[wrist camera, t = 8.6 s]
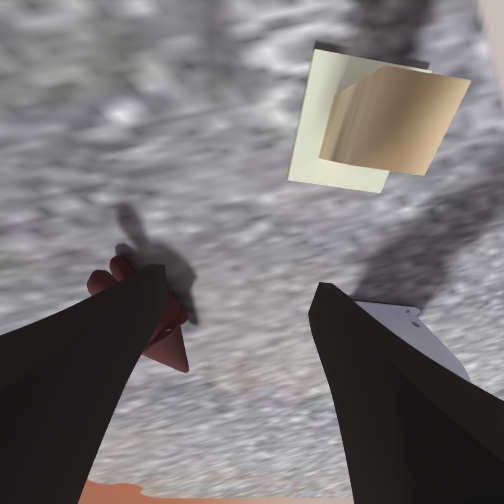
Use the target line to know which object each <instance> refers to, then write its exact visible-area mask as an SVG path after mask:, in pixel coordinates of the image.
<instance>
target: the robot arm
mask: <svg viewBox="0 0 504 504" xmlns="http://www.w3.org/2000/svg"><path fill="white" fill-rule="evenodd" d="M167 301H168V299H167V287H166V275H165V265H156V264H150V265H148V266H146V267H144V268H142V269H140V270H139V271H137V272H135V273H133V274H132V275H130V276H128V277H126V278H124V279H123V280H121V281H119V282H117V283H115V284H114V285H112V286H110V287H108V288H106V289H105V290H103V291H101V292H99V293H97V294H95V295H93V296H91V297H89V298H87V299H85V300H83V301H81V302H79V303H77V304H75V305H73V306H71V307H69V308H66V309H64V310H62V311H60V312H58V313H55V314H53V315H51V316H48V317H46V318H44V319H41V320H39V321H37V322H34V323H32V324H29V325H27V326H24V327H21V328H19V329H16V330H14V331H11V332H8V333H6V334H3V335H0V504H78V501H79V499H80V496H81V493H82V490H83V488H84V485H85V482H86V480H87V477H88V475H89V472H90V470H91V467H92V465H93V462H94V459H95V457H96V454H97V452H98V449H99V447H100V444H101V442H102V439H103V437H104V434H105V432H106V430H107V427H108V425H109V422H110V420H111V417H112V415H113V413H114V410H115V408H116V406H117V403H118V401H119V399H120V396H121V394H122V392H123V390H124V387H125V385H126V383H127V381H128V379H129V377H130V375H131V373H132V371H133V369H134V367H135V365H136V363H137V361H138V359H139V358H140V356H141V354H142V352H143V350H144V349H145V347H146V345H147V343H148V341H149V339H150V338H151V336H152V334H153V332H154V330H155V328H156V327H157V325H158V323H159V321H160V319H161V316H162V314H163V311H164V309H165V306H166V303H167ZM419 312H420V310H419V309H418V308H417V307H409V306H399V305H389V304H379V303H369V302H360V301H353V300H352V299H351V298H350V297H348V296H347V295H346V294H345V293H344V292H342V291H341V290H340V289H339V288H338V287H336V286H335V285H333V284H332V283H324V282H319V285H318V287H317V290H316V293H315V296H314V299H313V301H312V304H311V307H310V310H309V313H308V316H309V322H310V327H311V332H312V336H313V339H314V342H315V345H316V348H317V351H318V354H319V357H320V360H321V363H322V366H323V369H324V372H325V375H326V377H327V380H328V383H329V387H330V390H331V394H332V397H333V402H334V406H335V410H336V414H337V418H338V423H339V427H340V432H341V437H342V441H343V446H344V451H345V456H346V461H347V466H348V471H349V477H350V482H351V487H352V493H353V499H354V504H504V401H503V400H501V399H499V398H497V397H495V396H493V395H491V394H490V393H488V392H486V391H484V390H483V389H481V388H479V387H477V386H476V385H474V384H472V383H471V381H470V378H469V376H468V374H467V372H466V370H465V368H464V367H463V365H462V364H461V362H460V361H459V360H458V359H457V358H456V357H455V356H454V355H453V354H452V353H451V351H450V350H449V349H448V348H447V347H446V346H445V345H444V344H443V343H442V342H441V341H440V340H439V339H438V338H437V337H436V336H435V335H434V334H433V333H432V332H431V331H430V330H429V329H428V328H427V327H426V326H425V325H424V324H423V323H422V321H421V320H420V319H419V318H418V317H417V315H418V314H419Z"/></svg>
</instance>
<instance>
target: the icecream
mask: <svg viewBox="0 0 504 504" xmlns="http://www.w3.org/2000/svg"><path fill="white" fill-rule="evenodd" d="M109 267H110V270H111V273H112V275H111V274H110V273H109V272H107V271H106V270H95V271H93V273H92V274H91V276H90V278H89V280H88V282H87V288H88V291H89V293H90V294H91V295H92V296H93V295H95V294H97V293H99V292H101V291H103V290H105V289H106V288H108V287H110V286H112V285H114V284H115V283H117V282H119V281H121V280H123V279H124V278H126V277H128V276H130V275H132V274H133V273H135V271H134V269H133V267H132V266H131V265H130V264H129V263H128V261H127V260H126V259H125V258H123V257H122V256H119V255H118V256H115V257H113V258H112V259H111V260H110V266H109ZM167 299H168V301H167V303H166V306H165V309H164V311H163V314H162V316H161V319H160V321H159V323H158V325H157V327H156V328H155V330H154V332H153V334H152V336H151V338H150V339H149V341H148V343H147V345H146V347H145V349H144V350H143V352H142V354H141V355H144V356H146V357H148V358H151V359H153V360H155V361H158V362H160V363H162V364H165V365H167V366H169V367H172V368H174V369H176V370H179V371H181V372H184V373H187V372H188V371H189V365H188V361H187V356H186V351H185V346H184V341H183V336H182V331H181V326H180V325H182V324H184V323H185V322H186V321H187V319H188V315H187V313H186V311H187V308H186V307H185V306H183V305H182V304H179V302H178V301H177V300H176V299H175V298H174V297H173V295H172V292H170V291H167Z"/></svg>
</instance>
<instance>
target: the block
mask: <svg viewBox="0 0 504 504" xmlns="http://www.w3.org/2000/svg"><path fill="white" fill-rule="evenodd" d="M470 83H471V81H470V80H465V79H459V78H454V77H448V76H442V75H437V74H431V73H426V72H420V71H414V70H409V69H403V68H397V67H392V66H386V65H385V66H384V67H382V68H380V69H379V70H377V71H375V72H373V73H372V74H370V75H368V76H367V77H365V78H363V79H362V80H360V81H358V82H356V83H355V84H353V85H351V86H350V87H348V88H346V89H344V90H343V91H341V92H339V93H338V94H336V95H334V99H333V103H332V107H331V111H330V114H329V118H328V122H327V126H326V130H325V134H324V138H323V142H322V146H321V150H320V154H319V157H318V159H323V160H328V161H333V162H338V163H342V164H347V165H352V166H359V167H366V168H373V169H380V170H387V171H394V172H401V173H408V174H415V175H422V176H424V175H425V173H426V171H427V169H428V167H429V165H430V163H431V161H432V159H433V157H434V155H435V153H436V151H437V149H438V147H439V145H440V143H441V141H442V139H443V137H444V135H445V133H446V131H447V129H448V127H449V125H450V123H451V121H452V119H453V117H454V115H455V113H456V111H457V109H458V107H459V105H460V103H461V101H462V99H463V97H464V95H465V93H466V91H467V89H468V87H469V85H470Z"/></svg>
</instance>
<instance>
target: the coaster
mask: <svg viewBox="0 0 504 504" xmlns="http://www.w3.org/2000/svg"><path fill="white" fill-rule="evenodd" d="M385 65H386V66H392V67H397V68H403V69H409V70H414V71H420V72H426V73H431V72H432V71H429V70H424V69H418V68H413V67H408V66H402V65H397V64H392V63H386V62H381V61H376V60H370V59H365V58H360V57H355V56H349V55H344V54H339V53H333V52H328V51H323V50H317V49H315V50H314V51H313V53H312V57H311V62H310V67H309V72H308V77H307V82H306V87H305V92H304V97H303V101H302V106H301V111H300V116H299V121H298V126H297V131H296V136H295V141H294V146H293V151H292V155H291V160H290V165H289V170H288V175H287V180H292V181H299V182H306V183H313V184H320V185H327V186H334V187H341V188H348V189H355V190H363V191H370V192H377V193H381V190H382V188H383V185H384V183H385V181H386V178H387V176H388V174H389V171H387V170H380V169H373V168H366V167H359V166H352V165H347V164H342V163H338V162H333V161H328V160H323V159H318V157H319V154H320V150H321V146H322V142H323V138H324V134H325V130H326V126H327V122H328V118H329V114H330V111H331V107H332V103H333V99H334V95H336V94H338V93H339V92H341V91H343V90H344V89H346V88H348V87H350V86H351V85H353V84H355V83H356V82H358V81H360V80H362V79H363V78H365V77H367V76H368V75H370V74H372V73H373V72H375V71H377V70H379V69H380V68H382V67H384V66H385Z"/></svg>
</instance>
